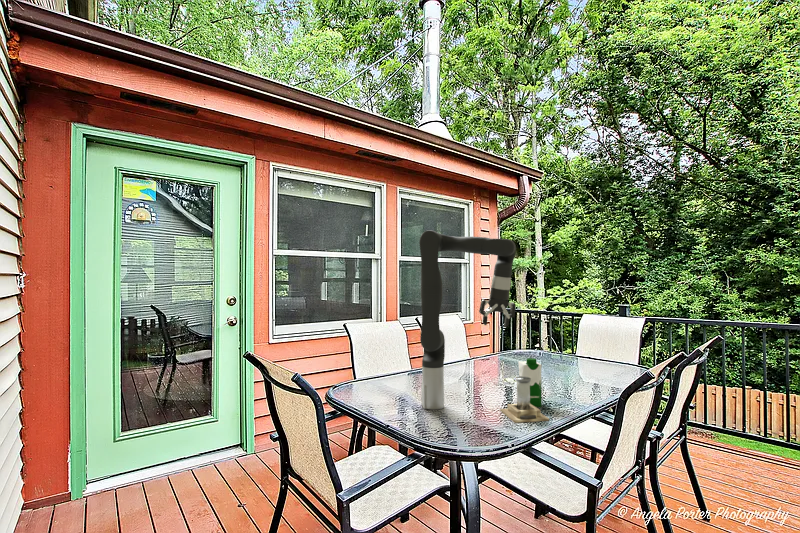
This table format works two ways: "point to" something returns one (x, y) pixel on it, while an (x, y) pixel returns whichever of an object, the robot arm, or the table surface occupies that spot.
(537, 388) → the milk carton
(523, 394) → the metal canister
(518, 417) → the socket mount
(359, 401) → the table surface
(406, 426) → the table surface
